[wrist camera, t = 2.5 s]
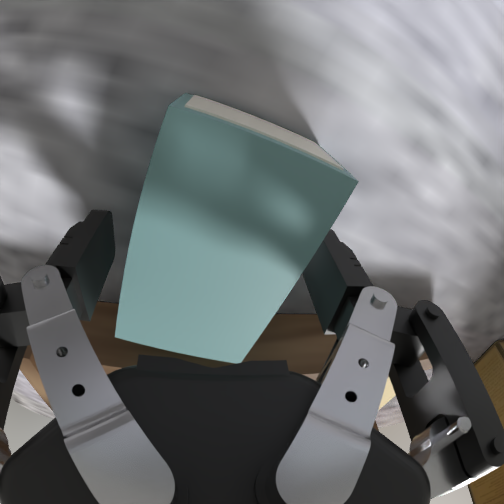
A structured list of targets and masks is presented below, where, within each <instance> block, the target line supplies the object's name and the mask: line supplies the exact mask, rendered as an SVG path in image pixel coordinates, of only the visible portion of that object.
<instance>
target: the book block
mask: <svg viewBox="0 0 504 504" xmlns="http://www.w3.org/2000/svg"><path fill="white" fill-rule="evenodd" d="M357 183H358V181H357V180H356V179H355V178H354V177H353V176H352V175H351V174H350V173H349V172H348V171H347V170H346V169H345V168H344V167H343V166H342V165H340V164H339V163H338V162H337V161H336V160H335V159H334V158H333V157H332V156H331V155H329V154H328V153H327V152H326V151H325V150H324V149H323V148H322V147H320V146H319V145H317V144H316V143H315V142H313V141H311V140H309V139H307V138H305V137H302V136H300V135H298V134H296V133H294V132H291V131H289V130H287V129H285V128H282V127H280V126H278V125H275V124H273V123H270V122H268V121H266V120H263V119H261V118H258V117H256V116H253V115H251V114H248V113H246V112H243V111H240V110H238V109H235V108H232V107H229V106H227V105H224V104H221V103H218V102H215V101H212V100H210V99H207V98H204V97H201V96H197V95H191V94H187V93H185V94H183V95H182V96H180V97H179V98H178V99H176V100H175V101H174V102H172V103H171V104H170V105H169V106H168V109H167V111H166V114H165V117H164V120H163V123H162V126H161V129H160V132H159V135H158V138H157V141H156V144H155V147H154V150H153V154H152V157H151V160H150V164H149V167H148V171H147V174H146V178H145V181H144V185H143V189H142V193H141V196H140V200H139V204H138V208H137V212H136V217H135V221H134V225H133V230H132V234H131V239H130V244H129V249H128V254H127V259H126V264H125V270H124V275H123V281H122V287H121V294H120V300H119V307H118V315H117V322H116V331H115V337H116V338H120V339H123V340H127V341H131V342H135V343H139V344H143V345H147V346H151V347H155V348H159V349H164V350H168V351H172V352H177V353H182V354H187V355H192V356H197V357H202V358H207V359H213V360H218V361H224V362H230V363H236V364H237V363H241V362H242V361H243V359H244V358H245V356H246V355H247V354H248V352H249V351H250V349H251V348H252V347H253V345H254V344H255V342H256V341H257V339H258V338H259V337H260V335H261V334H262V332H263V331H264V329H265V328H266V326H267V325H268V324H269V322H270V321H271V319H272V318H273V316H274V315H275V313H276V312H277V310H278V309H279V307H280V306H281V304H282V303H283V302H284V300H285V299H286V297H287V296H288V294H289V293H290V291H291V289H292V288H293V286H294V285H295V283H296V282H297V280H298V279H299V277H300V276H301V274H302V273H303V271H304V270H305V268H306V267H307V265H308V263H309V262H310V260H311V259H312V257H313V256H314V254H315V252H316V251H317V249H318V248H319V246H320V244H321V243H322V241H323V240H324V238H325V236H326V235H327V233H328V232H329V230H330V228H331V227H332V225H333V224H334V222H335V220H336V219H337V217H338V215H339V214H340V212H341V210H342V209H343V207H344V205H345V204H346V202H347V200H348V199H349V197H350V195H351V194H352V192H353V190H354V188H355V187H356V185H357Z"/></svg>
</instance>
